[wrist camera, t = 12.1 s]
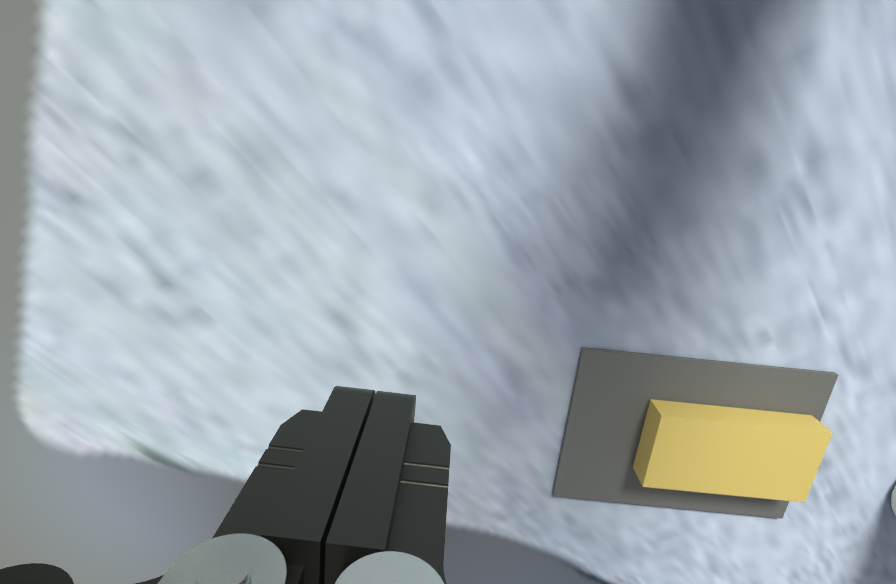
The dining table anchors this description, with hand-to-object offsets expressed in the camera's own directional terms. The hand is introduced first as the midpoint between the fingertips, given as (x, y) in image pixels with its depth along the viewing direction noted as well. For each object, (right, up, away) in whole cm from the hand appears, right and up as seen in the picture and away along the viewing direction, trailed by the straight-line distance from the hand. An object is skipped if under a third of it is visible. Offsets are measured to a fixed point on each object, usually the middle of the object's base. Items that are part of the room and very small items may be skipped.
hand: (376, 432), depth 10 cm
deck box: (+17, -9, +31) cm, 36 cm away
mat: (+21, -9, +33) cm, 40 cm away
